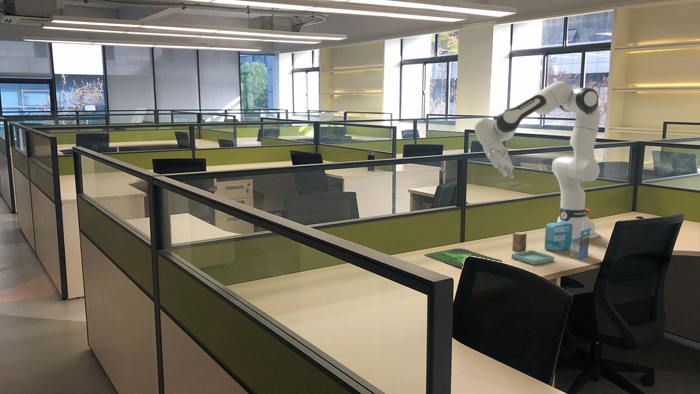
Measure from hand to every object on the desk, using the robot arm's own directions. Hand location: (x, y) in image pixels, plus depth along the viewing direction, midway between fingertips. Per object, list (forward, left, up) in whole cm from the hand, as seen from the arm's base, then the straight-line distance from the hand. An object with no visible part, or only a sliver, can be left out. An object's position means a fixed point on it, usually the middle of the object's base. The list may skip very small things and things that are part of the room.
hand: (509, 177), depth 256 cm
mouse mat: (+31, +5, -33) cm, 46 cm away
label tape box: (-14, +29, -32) cm, 46 cm away
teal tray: (+7, +22, -32) cm, 40 cm away
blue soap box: (-16, +16, -32) cm, 39 cm away
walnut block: (+1, +9, -32) cm, 33 cm away
